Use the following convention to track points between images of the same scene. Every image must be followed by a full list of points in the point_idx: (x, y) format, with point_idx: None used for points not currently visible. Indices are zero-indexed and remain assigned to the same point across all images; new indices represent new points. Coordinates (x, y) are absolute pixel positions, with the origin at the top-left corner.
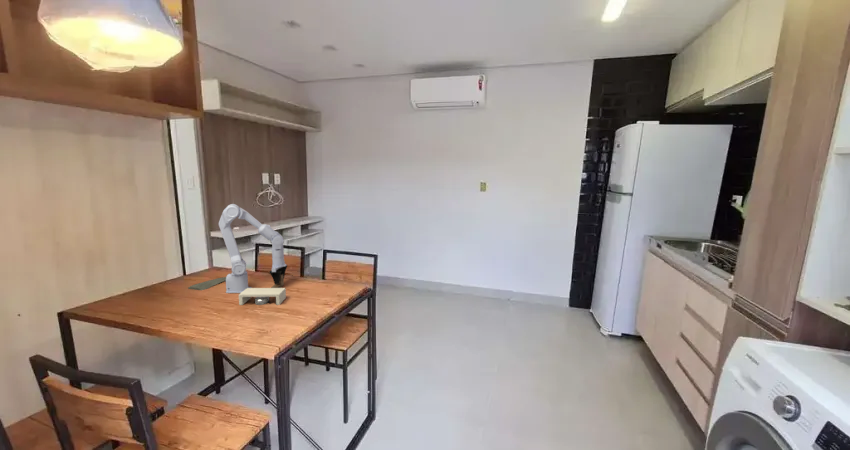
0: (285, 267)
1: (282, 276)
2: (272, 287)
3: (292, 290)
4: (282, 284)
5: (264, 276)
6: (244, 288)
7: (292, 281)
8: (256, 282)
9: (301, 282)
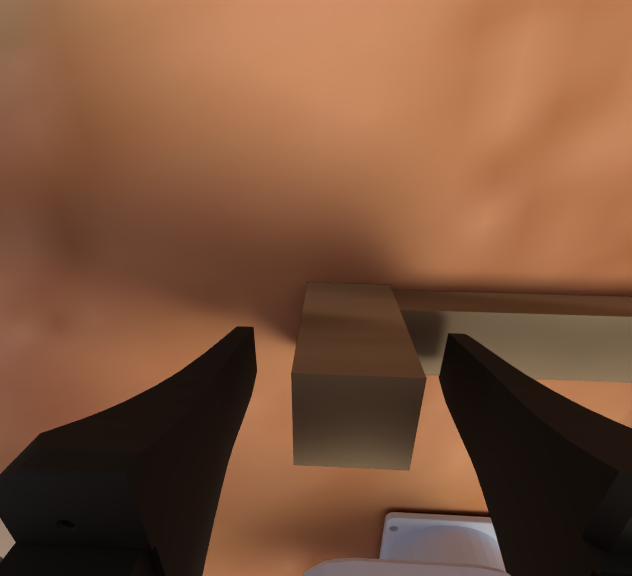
0: (152, 465)
1: (343, 358)
2: (532, 366)
3: (570, 87)
4: (354, 293)
5: None
6: (496, 558)
7: (153, 214)
8: (238, 512)
9: (174, 51)
